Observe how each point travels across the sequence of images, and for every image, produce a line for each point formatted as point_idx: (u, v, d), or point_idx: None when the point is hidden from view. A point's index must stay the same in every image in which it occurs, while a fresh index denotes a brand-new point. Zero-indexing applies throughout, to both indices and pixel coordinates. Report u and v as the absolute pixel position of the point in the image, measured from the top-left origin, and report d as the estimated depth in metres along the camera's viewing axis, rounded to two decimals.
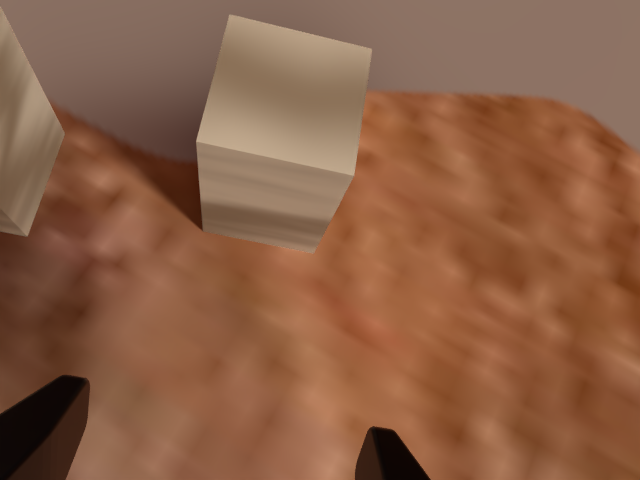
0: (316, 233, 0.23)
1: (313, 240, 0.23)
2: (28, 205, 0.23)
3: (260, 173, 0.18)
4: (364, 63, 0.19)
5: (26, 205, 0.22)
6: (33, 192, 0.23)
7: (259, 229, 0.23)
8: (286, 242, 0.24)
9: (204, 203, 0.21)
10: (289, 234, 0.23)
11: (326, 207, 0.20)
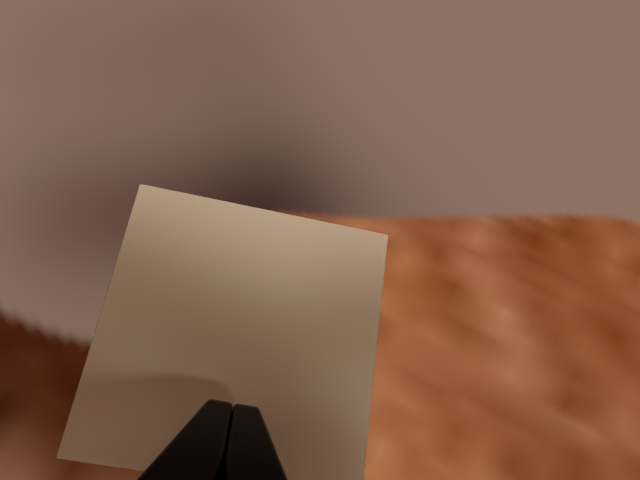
0: None
1: None
2: None
3: None
4: (375, 263, 0.11)
5: None
6: None
7: None
8: None
9: None
10: None
11: None
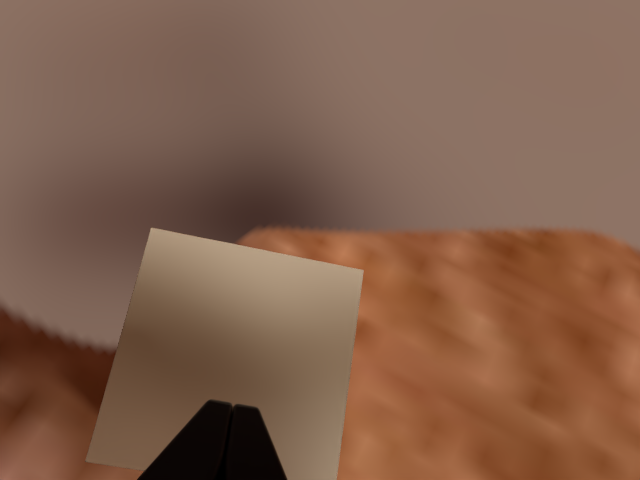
0: None
1: None
2: None
3: None
4: (351, 296, 0.13)
5: None
6: None
7: None
8: None
9: None
10: None
11: None
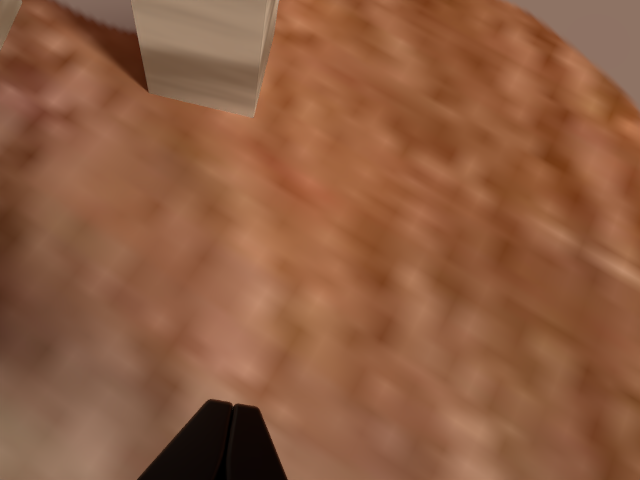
0: (250, 86, 0.24)
1: (249, 97, 0.25)
2: None
3: None
4: None
5: None
6: None
7: (198, 85, 0.25)
8: (226, 103, 0.26)
9: (143, 49, 0.23)
10: (226, 90, 0.25)
11: (252, 45, 0.22)
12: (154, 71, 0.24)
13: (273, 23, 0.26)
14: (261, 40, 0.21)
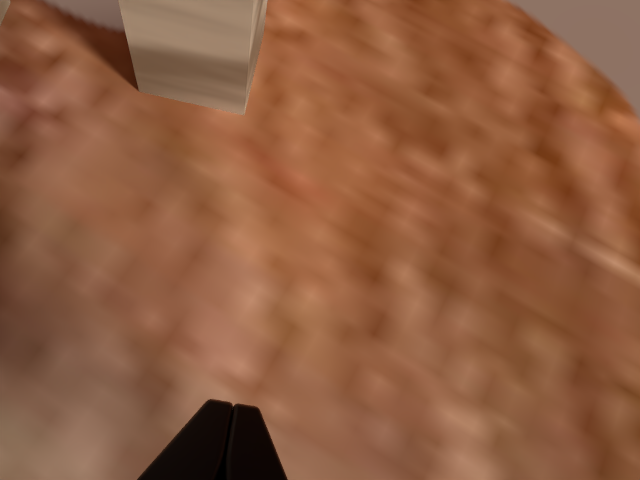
0: (240, 83, 0.24)
1: (240, 94, 0.25)
2: None
3: None
4: None
5: None
6: None
7: (188, 83, 0.25)
8: (216, 100, 0.26)
9: (132, 48, 0.23)
10: (216, 87, 0.25)
11: (240, 42, 0.22)
12: (143, 69, 0.24)
13: (262, 20, 0.26)
14: (249, 37, 0.21)
